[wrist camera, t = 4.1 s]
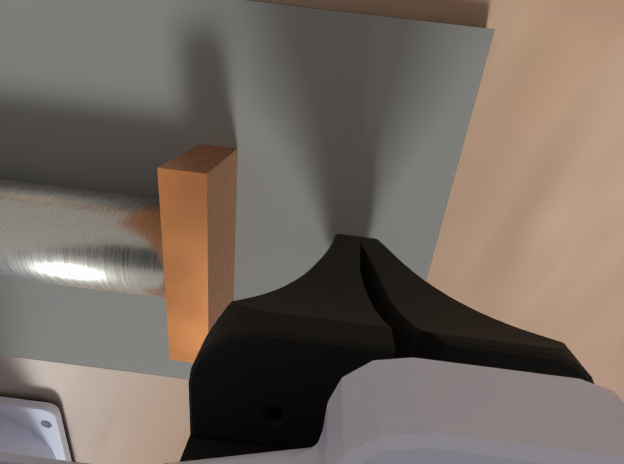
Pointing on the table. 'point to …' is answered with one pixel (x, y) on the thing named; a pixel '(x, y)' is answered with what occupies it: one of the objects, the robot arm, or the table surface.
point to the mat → (228, 140)
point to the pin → (134, 240)
